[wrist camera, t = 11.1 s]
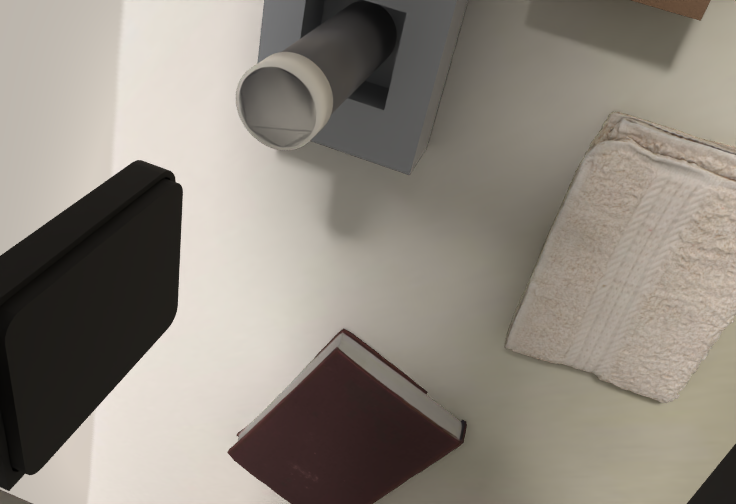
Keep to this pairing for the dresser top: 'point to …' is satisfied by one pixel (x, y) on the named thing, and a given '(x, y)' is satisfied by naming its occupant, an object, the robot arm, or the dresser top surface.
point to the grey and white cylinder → (314, 76)
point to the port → (380, 76)
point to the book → (346, 430)
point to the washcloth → (636, 261)
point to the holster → (680, 6)
